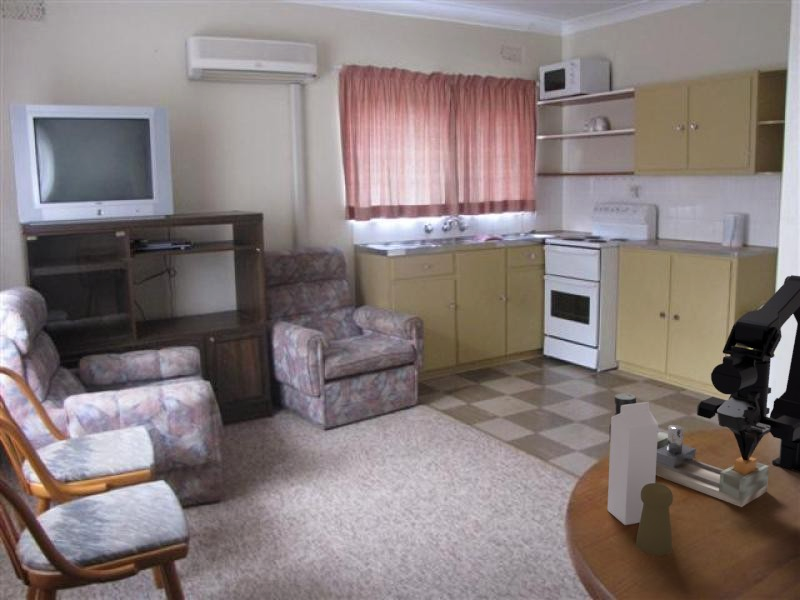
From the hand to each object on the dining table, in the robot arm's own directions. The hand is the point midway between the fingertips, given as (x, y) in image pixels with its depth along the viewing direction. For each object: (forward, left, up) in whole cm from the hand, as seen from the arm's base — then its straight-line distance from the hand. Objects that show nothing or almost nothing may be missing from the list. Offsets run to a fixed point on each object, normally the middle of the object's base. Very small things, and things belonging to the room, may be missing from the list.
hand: (745, 459), depth 142 cm
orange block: (0, 0, -3) cm, 3 cm away
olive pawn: (+30, 0, -8) cm, 31 cm away
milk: (+24, -9, -8) cm, 27 cm away
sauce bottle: (+16, -16, -8) cm, 24 cm away
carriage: (0, -15, -5) cm, 16 cm away
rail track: (0, -10, -8) cm, 12 cm away
